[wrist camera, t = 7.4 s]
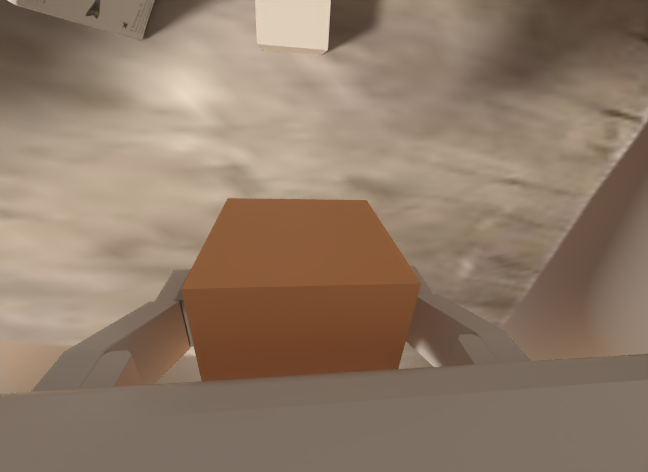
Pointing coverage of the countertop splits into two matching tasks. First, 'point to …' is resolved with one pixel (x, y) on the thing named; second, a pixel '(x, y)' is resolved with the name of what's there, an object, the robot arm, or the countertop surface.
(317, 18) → the offwhite cube
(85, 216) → the countertop surface
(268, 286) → the terracotta cube
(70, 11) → the supplement box
